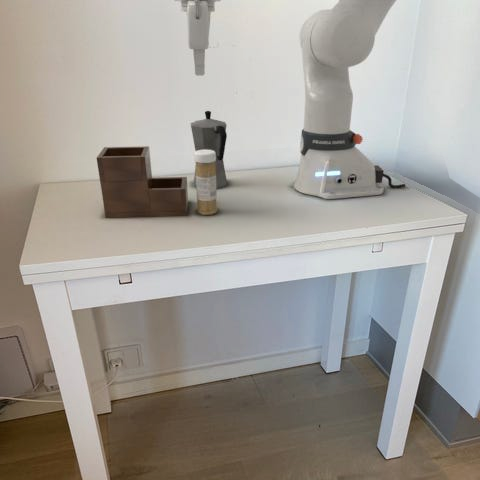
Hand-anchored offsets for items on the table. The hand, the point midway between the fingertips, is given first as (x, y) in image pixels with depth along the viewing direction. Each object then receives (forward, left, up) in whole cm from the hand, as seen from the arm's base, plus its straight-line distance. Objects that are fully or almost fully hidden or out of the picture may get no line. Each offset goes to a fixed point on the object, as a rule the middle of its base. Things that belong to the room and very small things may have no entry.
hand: (200, 72), depth 100 cm
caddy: (+13, 0, -28) cm, 31 cm away
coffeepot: (-2, -18, -28) cm, 34 cm away
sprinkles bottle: (0, +3, -28) cm, 29 cm away
